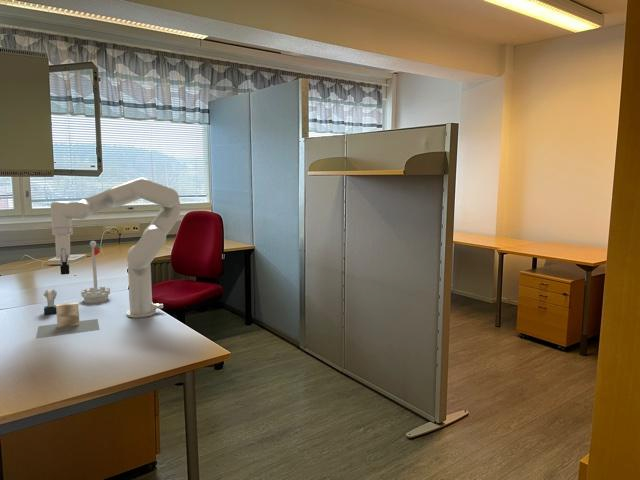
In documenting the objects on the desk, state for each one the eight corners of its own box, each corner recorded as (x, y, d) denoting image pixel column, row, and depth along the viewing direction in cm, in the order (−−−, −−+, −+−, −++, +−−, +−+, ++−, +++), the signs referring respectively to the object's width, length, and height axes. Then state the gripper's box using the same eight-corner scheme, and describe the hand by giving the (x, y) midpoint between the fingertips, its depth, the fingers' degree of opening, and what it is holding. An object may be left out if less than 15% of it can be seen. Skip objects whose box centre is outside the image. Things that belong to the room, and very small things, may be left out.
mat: (97, 320, 202) (97, 318, 202) (99, 330, 188) (99, 329, 188) (38, 327, 192) (38, 326, 192) (35, 339, 178) (35, 338, 178)
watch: (59, 310, 216) (57, 287, 215) (58, 314, 209) (56, 290, 207) (45, 311, 214) (43, 288, 212) (43, 316, 206) (42, 292, 205)
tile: (79, 322, 196) (78, 302, 195) (79, 324, 194) (78, 303, 193) (57, 325, 193) (56, 304, 191) (57, 327, 190) (56, 306, 189)
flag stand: (76, 301, 231) (72, 241, 227) (99, 295, 243) (95, 238, 239) (93, 304, 225) (89, 243, 221) (116, 298, 237) (113, 240, 233)
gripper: (52, 229, 200) (55, 271, 202) (51, 233, 187) (54, 278, 189) (72, 228, 203) (75, 270, 206) (72, 232, 190) (75, 276, 193)
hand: (65, 273), depth 198 cm, fingers closed
